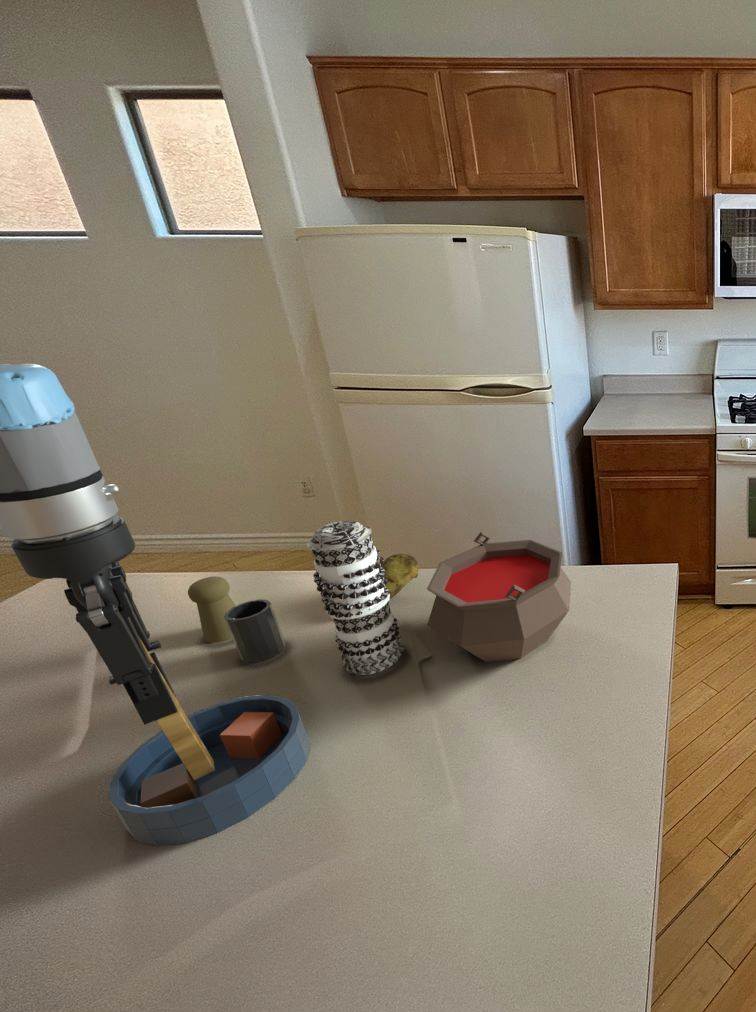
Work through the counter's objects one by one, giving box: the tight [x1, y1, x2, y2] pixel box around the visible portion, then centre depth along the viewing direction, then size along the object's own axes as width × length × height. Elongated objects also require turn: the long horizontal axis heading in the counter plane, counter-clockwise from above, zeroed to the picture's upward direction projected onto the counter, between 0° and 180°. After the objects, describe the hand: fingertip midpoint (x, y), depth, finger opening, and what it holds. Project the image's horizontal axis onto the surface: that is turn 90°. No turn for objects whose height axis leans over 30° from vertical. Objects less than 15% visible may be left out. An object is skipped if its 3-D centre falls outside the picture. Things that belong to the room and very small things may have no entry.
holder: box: [224, 599, 286, 665], centre depth 91 cm, size 6×6×9 cm
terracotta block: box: [220, 712, 282, 758], centre depth 73 cm, size 4×4×4 cm
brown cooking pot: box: [426, 530, 572, 663], centre depth 95 cm, size 24×24×16 cm
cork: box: [187, 576, 236, 644], centre depth 95 cm, size 6×6×11 cm
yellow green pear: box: [381, 553, 419, 601], centre depth 106 cm, size 8×13×8 cm, turn 139°
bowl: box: [108, 694, 311, 847], centre depth 69 cm, size 18×18×6 cm
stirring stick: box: [139, 637, 215, 780], centre depth 64 cm, size 2×2×20 cm
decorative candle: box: [306, 520, 405, 676], centre depth 86 cm, size 9×9×25 cm
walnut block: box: [140, 763, 199, 808], centre depth 65 cm, size 4×4×4 cm
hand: (160, 709), depth 63 cm, fingers closed on stirring stick, 2 cm apart
